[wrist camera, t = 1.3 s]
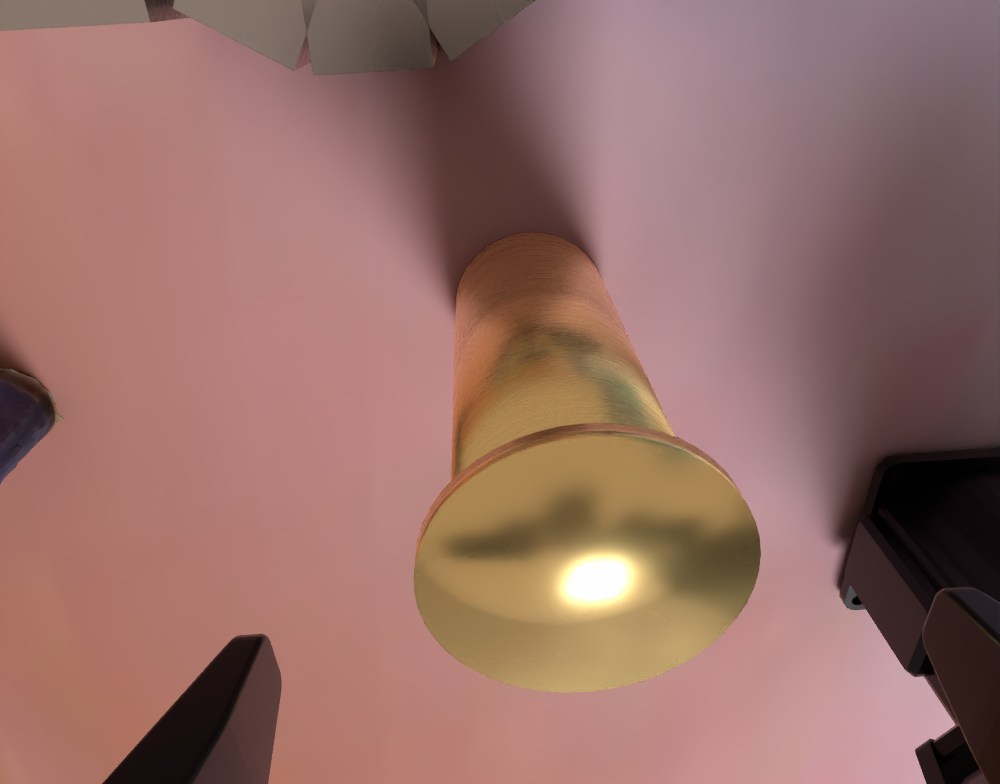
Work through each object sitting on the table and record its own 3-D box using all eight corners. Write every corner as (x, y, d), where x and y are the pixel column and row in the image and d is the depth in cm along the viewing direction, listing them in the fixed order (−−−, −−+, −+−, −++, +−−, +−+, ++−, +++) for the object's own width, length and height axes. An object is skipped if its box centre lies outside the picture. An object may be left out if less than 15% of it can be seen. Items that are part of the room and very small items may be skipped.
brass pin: (626, 207, 17) (787, 428, 9) (618, 379, 20) (736, 681, 11) (428, 219, 17) (392, 453, 9) (445, 390, 20) (431, 702, 11)
